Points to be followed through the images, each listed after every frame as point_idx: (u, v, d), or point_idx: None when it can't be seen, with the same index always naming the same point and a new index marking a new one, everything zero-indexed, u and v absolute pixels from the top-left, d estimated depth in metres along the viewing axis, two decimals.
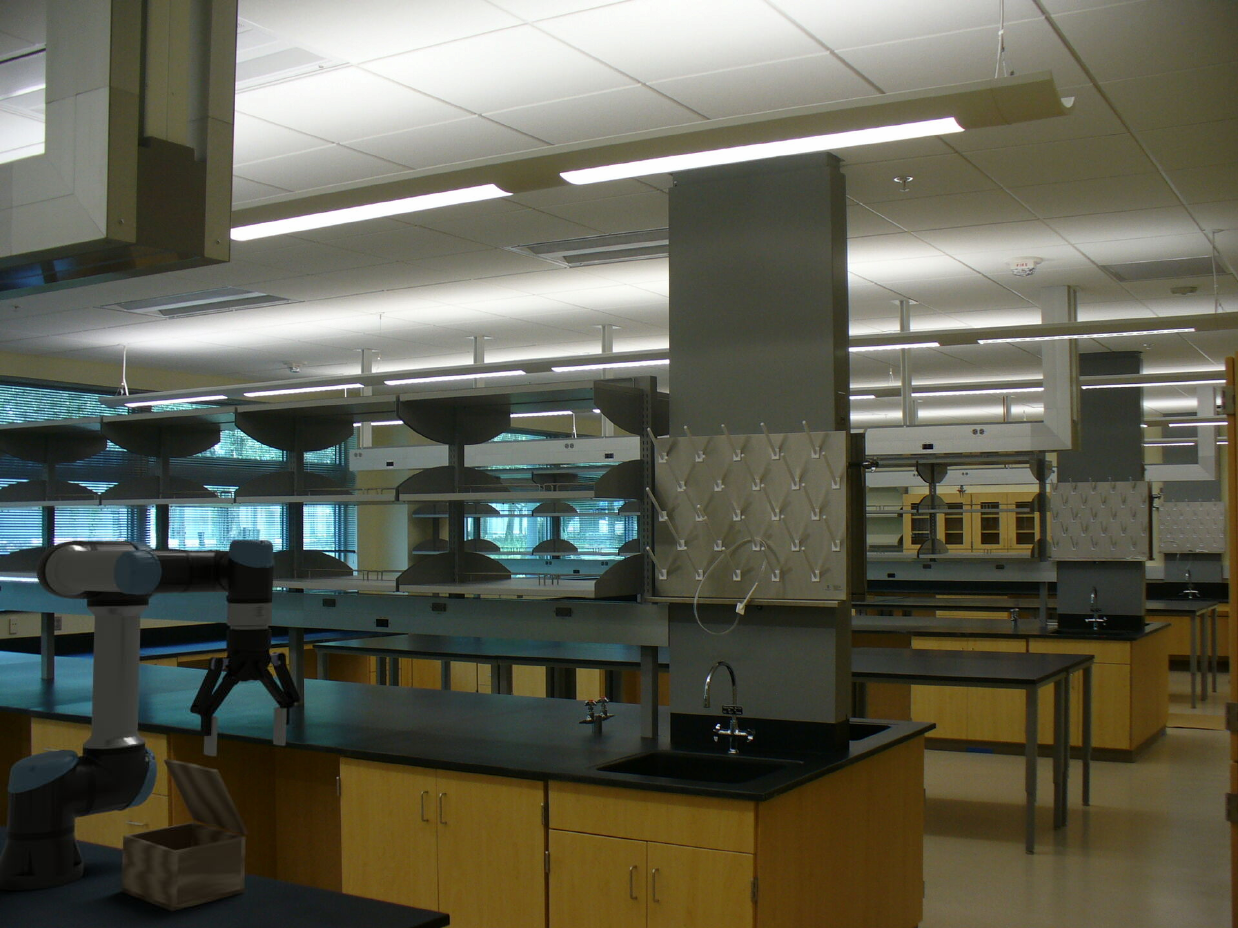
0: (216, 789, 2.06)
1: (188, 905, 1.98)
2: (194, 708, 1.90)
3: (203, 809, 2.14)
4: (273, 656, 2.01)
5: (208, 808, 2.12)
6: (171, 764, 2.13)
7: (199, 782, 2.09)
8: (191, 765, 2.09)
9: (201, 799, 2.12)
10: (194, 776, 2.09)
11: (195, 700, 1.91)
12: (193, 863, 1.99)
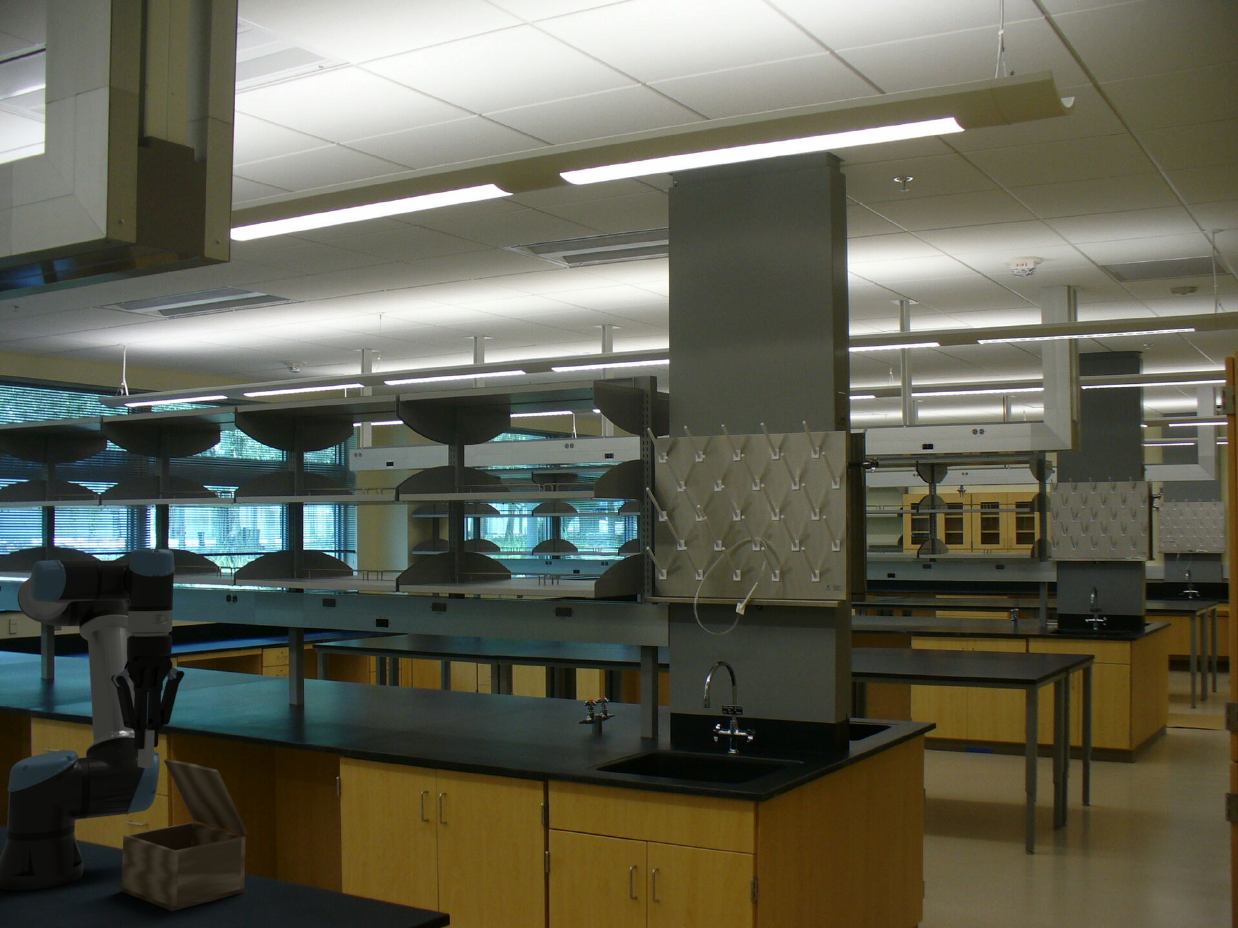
0: (216, 789, 2.06)
1: (188, 905, 1.98)
2: (127, 725, 2.00)
3: (203, 809, 2.14)
4: (173, 669, 2.07)
5: (208, 808, 2.12)
6: (171, 764, 2.13)
7: (199, 782, 2.09)
8: (191, 765, 2.09)
9: (201, 799, 2.12)
10: (194, 776, 2.09)
11: (123, 717, 2.00)
12: (193, 863, 1.99)
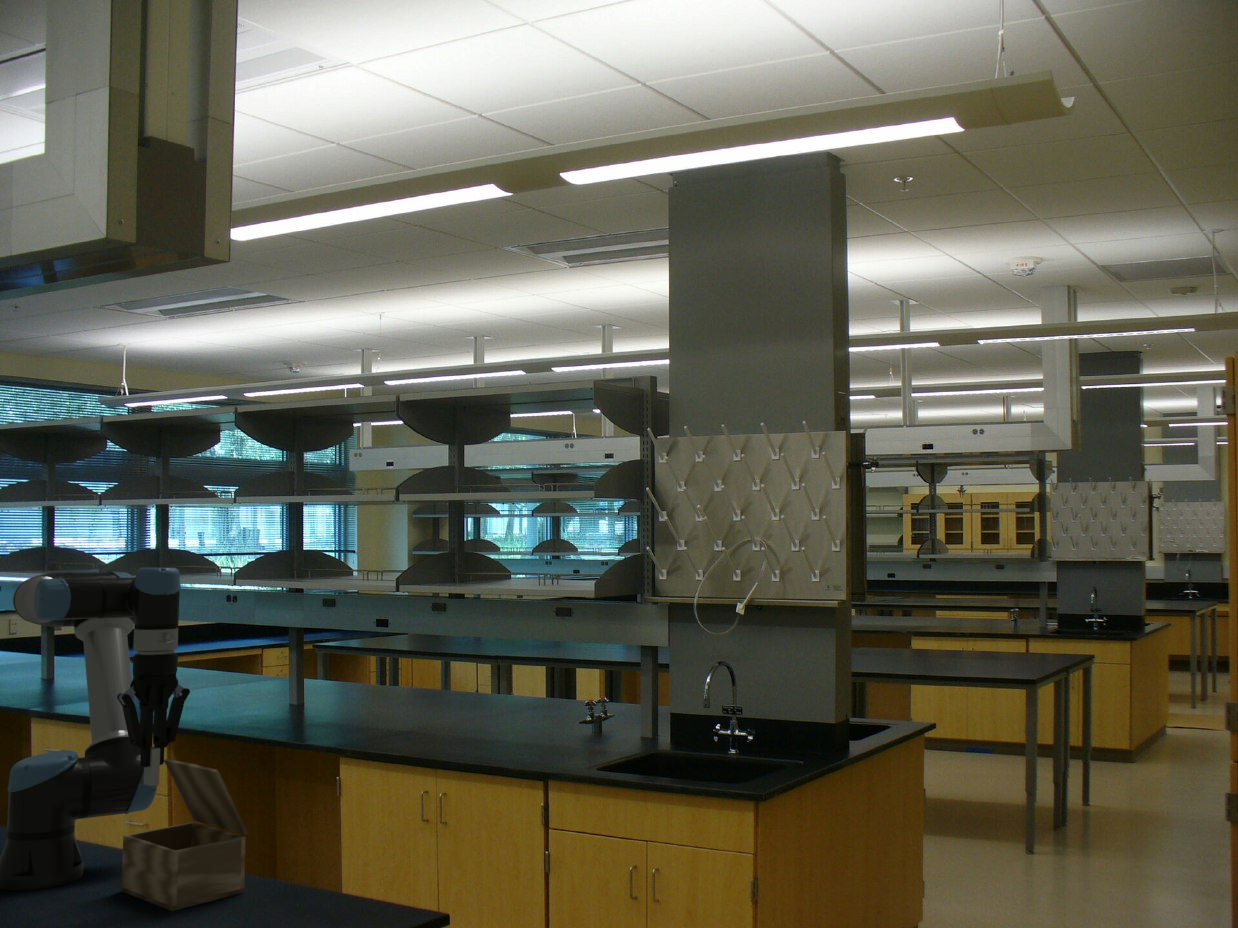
0: (216, 789, 2.06)
1: (188, 905, 1.98)
2: (133, 743, 2.01)
3: (203, 809, 2.14)
4: (179, 686, 2.08)
5: (208, 808, 2.12)
6: (171, 764, 2.13)
7: (199, 782, 2.09)
8: (191, 765, 2.09)
9: (201, 799, 2.12)
10: (194, 776, 2.09)
11: (129, 735, 2.01)
12: (193, 863, 1.99)
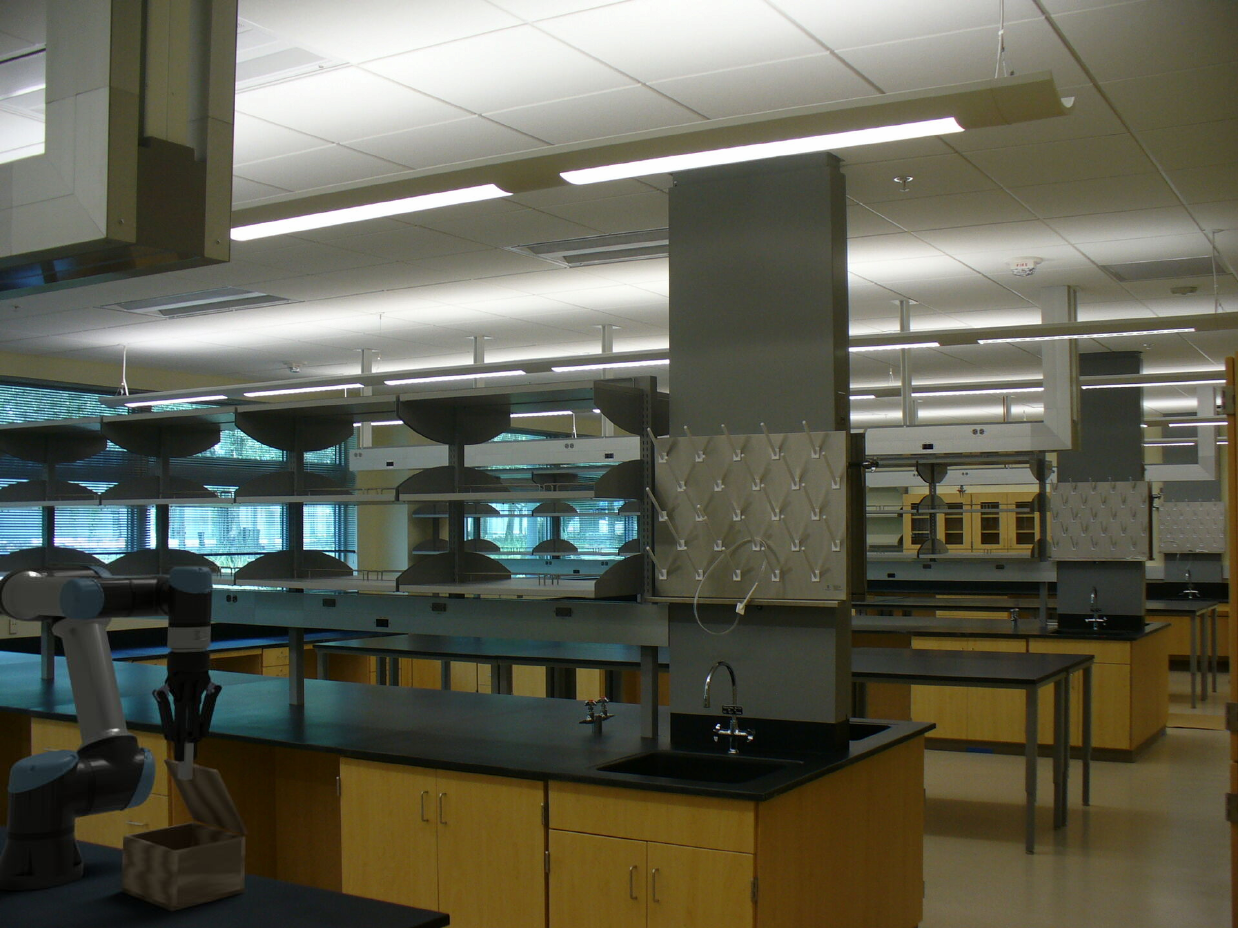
0: (216, 789, 2.06)
1: (188, 905, 1.98)
2: (168, 738, 2.06)
3: (203, 809, 2.14)
4: (211, 683, 2.13)
5: (208, 808, 2.12)
6: (171, 764, 2.13)
7: (199, 782, 2.09)
8: None
9: (201, 799, 2.12)
10: (194, 776, 2.09)
11: (164, 730, 2.06)
12: (193, 863, 1.99)
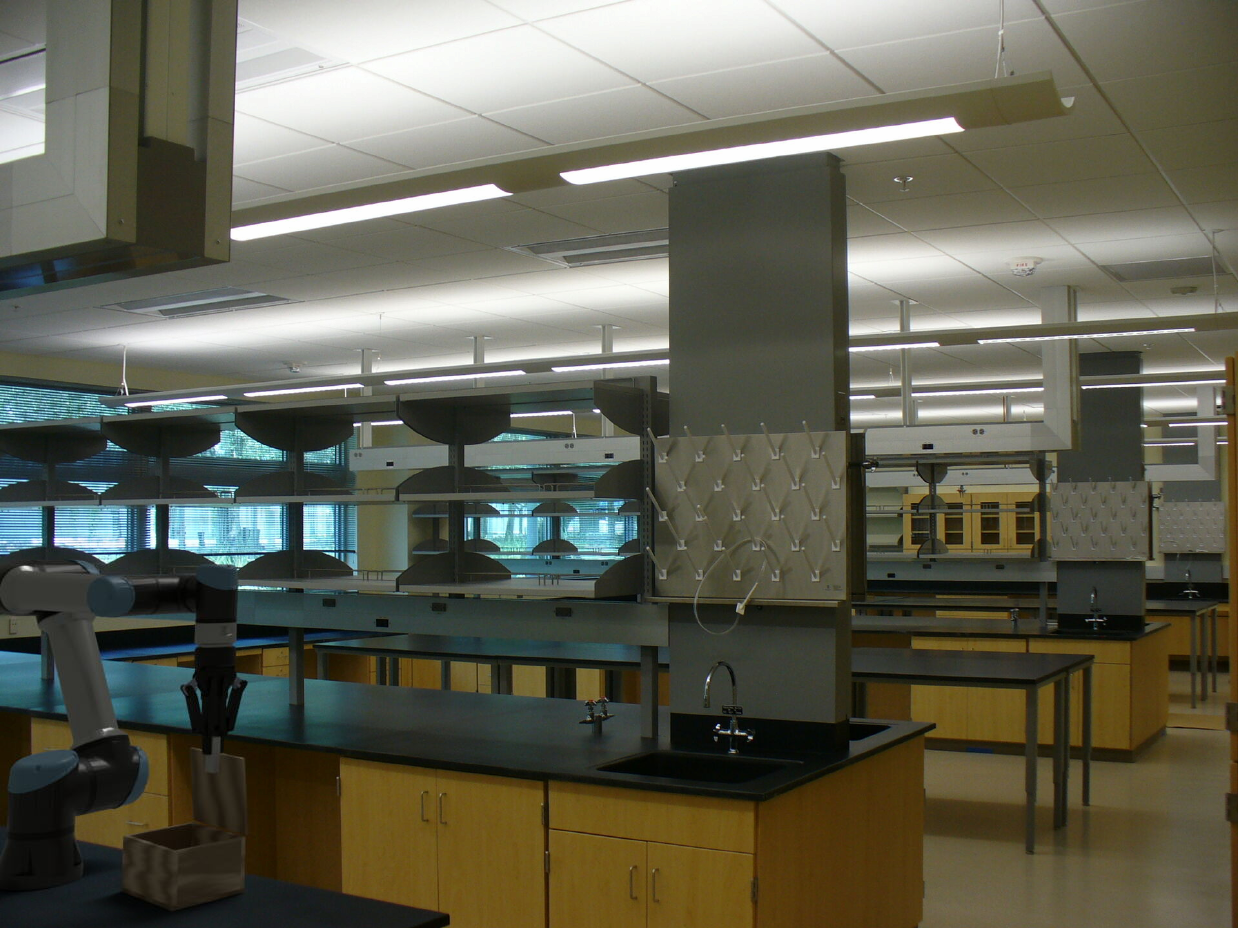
0: (234, 780, 2.09)
1: (188, 905, 1.98)
2: (196, 732, 2.10)
3: (210, 805, 2.15)
4: (237, 678, 2.17)
5: (216, 804, 2.13)
6: (196, 752, 2.17)
7: (219, 772, 2.12)
8: None
9: (213, 793, 2.14)
10: None
11: (192, 724, 2.10)
12: (193, 863, 1.99)
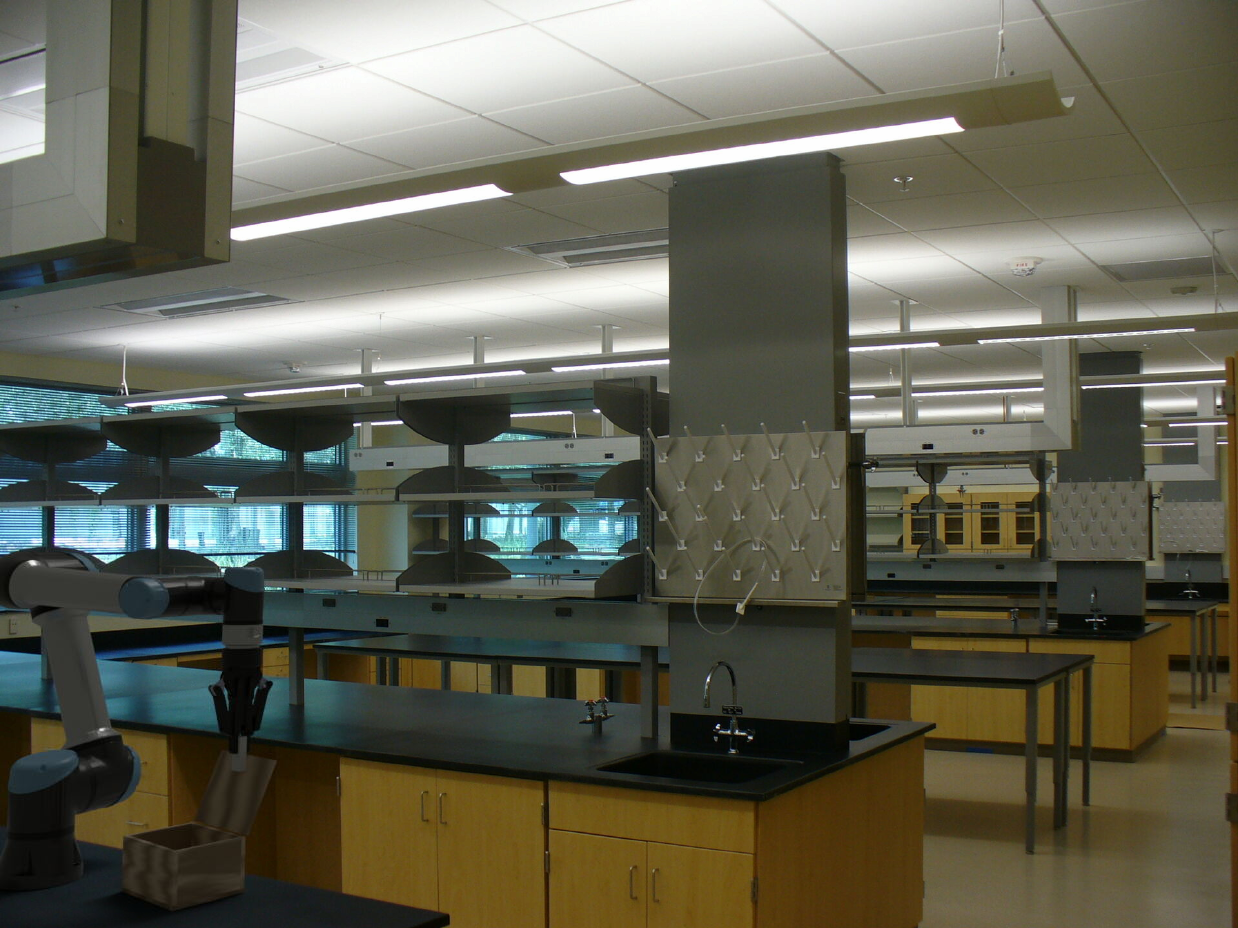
0: (257, 780, 2.13)
1: (188, 905, 1.98)
2: (223, 731, 2.15)
3: (218, 805, 2.16)
4: (263, 679, 2.21)
5: (226, 804, 2.15)
6: (227, 753, 2.22)
7: (243, 773, 2.16)
8: (250, 755, 2.18)
9: (227, 793, 2.16)
10: None
11: (219, 724, 2.15)
12: (193, 863, 1.99)
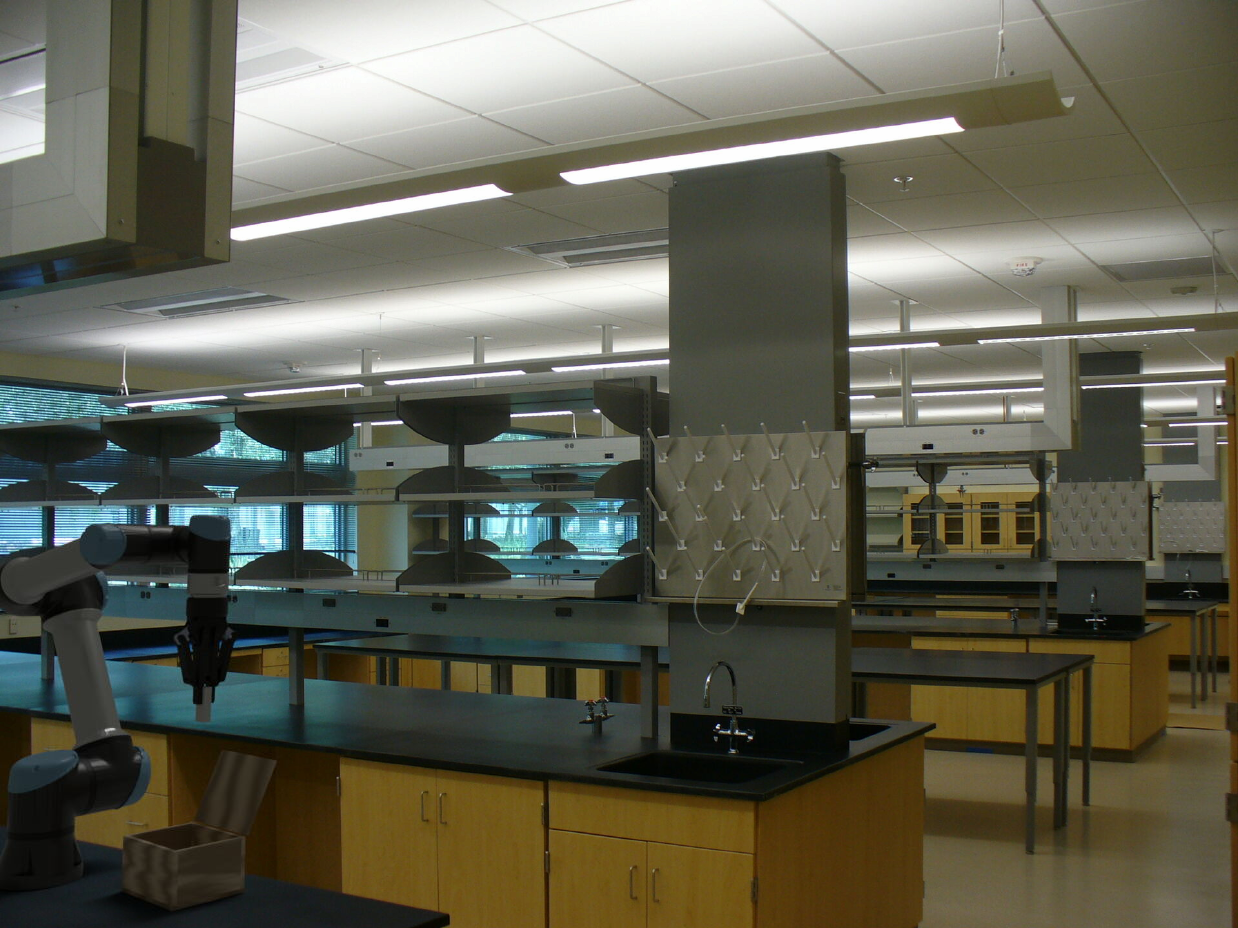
0: (257, 780, 2.13)
1: (188, 905, 1.98)
2: (187, 681, 2.10)
3: (218, 805, 2.16)
4: (229, 629, 2.17)
5: (226, 804, 2.15)
6: (227, 753, 2.22)
7: (243, 773, 2.16)
8: (250, 755, 2.18)
9: (227, 793, 2.16)
10: (243, 766, 2.17)
11: (183, 674, 2.11)
12: (193, 863, 1.99)
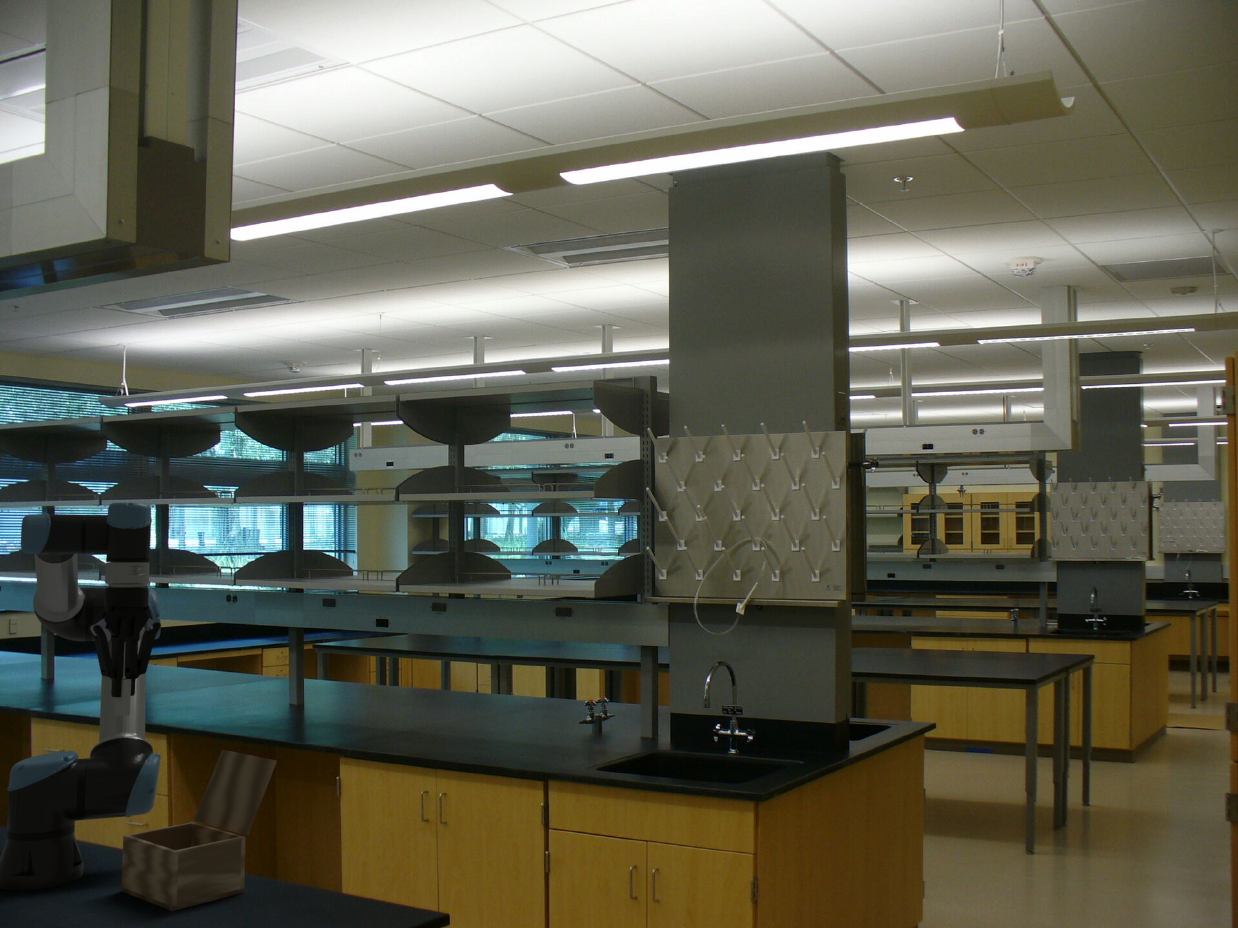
0: (257, 780, 2.13)
1: (188, 905, 1.98)
2: (104, 673, 2.05)
3: (218, 805, 2.16)
4: (150, 620, 2.12)
5: (226, 804, 2.15)
6: (227, 753, 2.22)
7: (243, 773, 2.16)
8: (250, 755, 2.18)
9: (227, 793, 2.16)
10: (243, 766, 2.17)
11: (100, 666, 2.05)
12: (193, 863, 1.99)
